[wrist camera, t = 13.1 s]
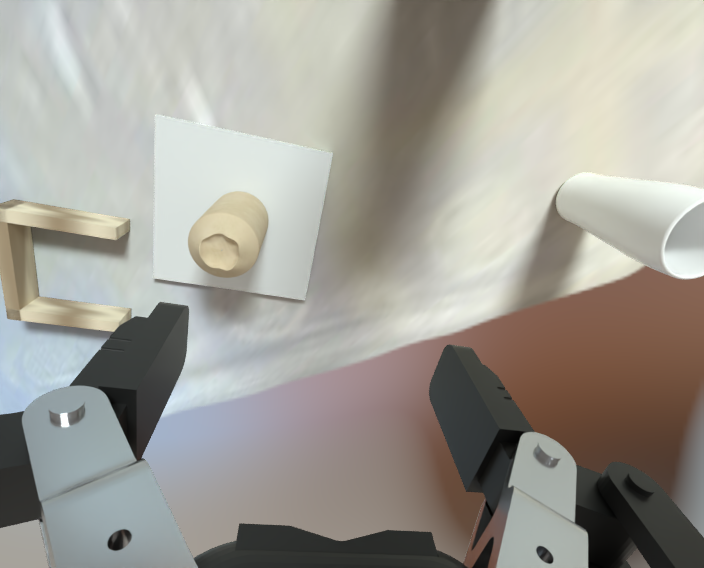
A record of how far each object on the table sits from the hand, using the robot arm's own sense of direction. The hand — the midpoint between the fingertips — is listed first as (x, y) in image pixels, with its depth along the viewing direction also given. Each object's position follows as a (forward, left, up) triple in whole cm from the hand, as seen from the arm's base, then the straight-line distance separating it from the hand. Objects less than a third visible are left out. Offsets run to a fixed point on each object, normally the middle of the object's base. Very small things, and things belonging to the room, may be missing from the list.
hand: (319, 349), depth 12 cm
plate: (+5, -6, -29) cm, 30 cm away
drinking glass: (-4, +29, -30) cm, 41 cm away
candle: (+5, -6, -29) cm, 30 cm away
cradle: (+13, -21, -29) cm, 39 cm away
